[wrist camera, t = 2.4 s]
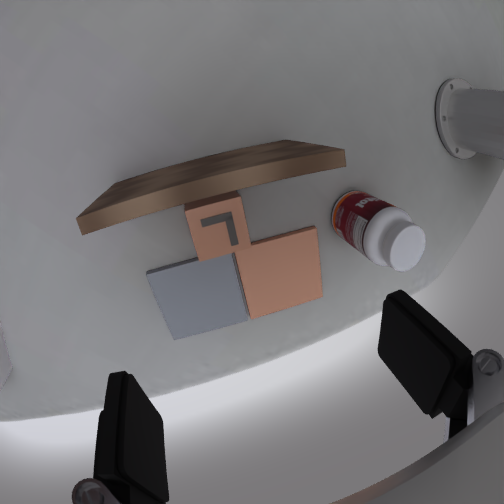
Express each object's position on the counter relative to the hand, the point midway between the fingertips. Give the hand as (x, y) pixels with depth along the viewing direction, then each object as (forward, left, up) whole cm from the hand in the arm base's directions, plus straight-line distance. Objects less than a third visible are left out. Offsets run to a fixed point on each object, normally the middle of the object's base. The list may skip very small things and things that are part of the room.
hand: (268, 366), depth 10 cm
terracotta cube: (0, +1, -23) cm, 23 cm away
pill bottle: (-16, +5, -23) cm, 29 cm away
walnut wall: (0, -4, -23) cm, 23 cm away
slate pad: (+4, +10, -23) cm, 25 cm away
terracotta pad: (-6, +10, -23) cm, 26 cm away
